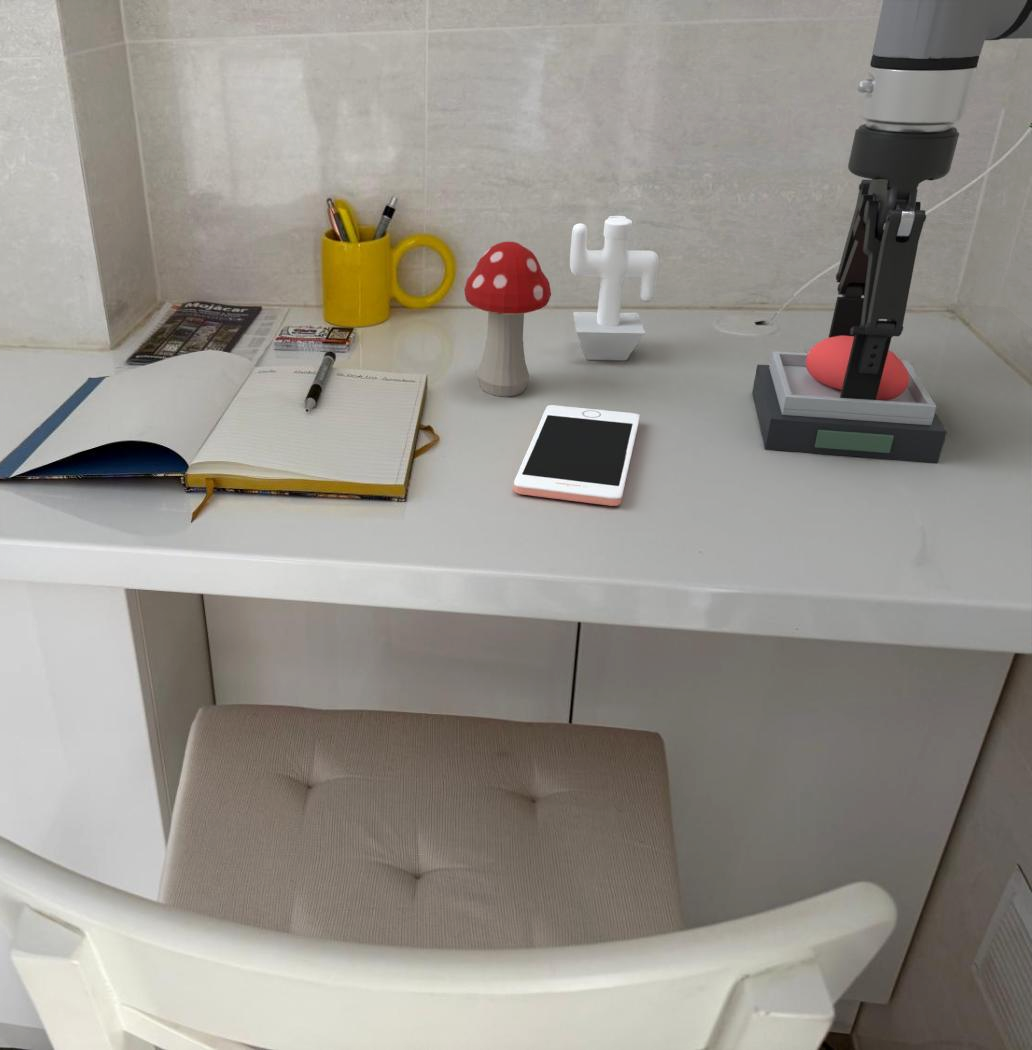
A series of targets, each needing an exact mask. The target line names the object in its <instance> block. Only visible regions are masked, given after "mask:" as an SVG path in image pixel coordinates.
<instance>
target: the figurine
mask: <svg viewBox="0 0 1032 1050" xmlns="http://www.w3.org/2000/svg"><path fill="white" fill-rule="evenodd" d="M603 224H604V225H603V237H604V242H603V247H602V248H601V249H595V250H594V249H593V250H592V249H588V246H587V245H588V243H587V241H588V227H587V225H586V224H585V223H576V224H574V225H573V227H572V229H571V239H570V250H569V252H570V253H569V269H570V271H571V273H572V275H574V276H576V277H598V278H600V281H599V293H598V301H597V311H572V315H573V321H574V325H575V333H576V335H577V337H578V341H579V344H580V346H581V349H582V352H583V355H584V358H585V360H586V361H627V360H628V359H629V358H630V355H631V354H632V353H633V351H634V350H635V348H636V347H637V345H638V344H639V343H640V341H641V340H642V339H643V338H644V335H645V334H646V332H645V328H644V327H643V324H642V321H641V318H640V315H639V313H638V312H621V309H622V301H623V300H622V299H623V291H624V284H625V283H624V282H625V278H627V277H629V278H630V277H631V278H640V288H639V298H640V300H641V301H643V302H649V303H650V302H652V301H654V299H655V297H656V294H657V293H656V292H657V284H658V279H659V268H660V266H659V265H660V260H659V259H660V258H659V256H658V255H659V254H657V252H655V251H653V250H642V249H641V250H640V249H639V250H633V249H631V250H630V249H628V246H629V239H630V237H631V236H632V228H633V220H632V219H630V218H627V216H624V215H609V216H608V217H607V218H606V219H605V220H604V223H603Z"/></svg>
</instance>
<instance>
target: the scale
mask: <svg viewBox="0 0 1032 1050" xmlns="http://www.w3.org/2000/svg"><path fill="white" fill-rule="evenodd" d="M808 353H809V352H792V351H789V352H788V351H774V350H773V351H772V352H771V356H770V362H769V364H756V369H755V375H754V380H753V385H752V391H751V392H752V397H753V402H754V405H755V406H754V407H755V410H756V415H757V419H758V424H759V428H760V433H761V437H762V442H763V446H764V450H772V451H782V452H795V453H796V452H797V453H798V452H799V453H806V454H807V453H809V454H818V455H819V454H822V455H833V456H843V457H844V456H846V457H858V458H871V459H883V460H896V461H906V462H907V461H910V462H919V463H920V462H922V463H933V464H938V463H939V460H940V456H941V453H942V449H943V447H944V444H945V440H946V436H947V433H948V431H947V429H946V428H945V426H944V424H943V423H942V421H941V419H940V418H939V416H938V415H937V412H936V410H937V405H936V403H935V401H934V400H933V398H932V397H931V395H930V394H929V392H928V390H927V389H926V387H925V385H924V383H923V382H922V381H921V379H920V377H919V376H918V374H917V373H916V371H915V369H914V367H913V366H912V364H911V363H910V361H909V360H908V358H900V357H898V358H899V359H900V360H901V361H902V363H903V364H904V366H905V367H906V369H907V371H908V374H909V384H908V387H907V388H906V390H905V391H904V392H903V393H902V394H901V395H900V396H898V397H896V398H894V399H890V400H865V399H849V398H840V395H841V391H842V390H840V389H837V388H833V387H830V386H827V385H825V384H822V383H820V382H819V381H817V380H815V379H814V378H813V377H812V376H811V375H810V374H809V372H808V371H807V368H806V358H807V355H808Z"/></svg>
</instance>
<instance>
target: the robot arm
mask: <svg viewBox="0 0 1032 1050" xmlns="http://www.w3.org/2000/svg"><path fill="white" fill-rule="evenodd" d="M1017 39H1020V40H1022V39H1023V40H1025V39H1032V0H882V4H881V8H880V13H879V19H878V23H877V28H876V33H875V39H874V43H873V48H872V53H871V54H872V56H871V59H870V64H869V69H868V79H867V78H866V79H862V80H859V82H858V83H857V88H856V90H857V92H859V93H862V94H863V93H864V94H863V97H862V101H861V107H860V110H859V117H861V119H862V120H863V121H865V123H863V124H861V125H860V126H858V128H857V129H855V131H854V135H853V136H854V137H853V141H852V145H851V150H850V154H849V158H848V159H849V160H848V164H847V167H848V170H849V172H850V173H851V174H852V175H854V176H857V177H859V178H860V177H861V178H863V179H862V180H861V181H860V183H859V184H858V194H857V199H856V204H855V208H854V211H853V215H852V219H851V223H850V226H849V230H848V233H847V237H846V241H845V244H844V248H843V252H842V256H841V258H840V262H839V266H838V270H837V273H836V274H835V280H836V283H838V285H837V289H836V290H837V294H838V295H839V296H837V297H836V301H835V306H834V310H833V315H832V319H831V324H830V328H829V332H828V337H827V338H830V337H835V336H854V340H853V344H852V348H851V352H850V357H849V361H848V365H847V369H846V374H845V378H844V382H843V387H842V391H841V395H840V398H849V399H865V400H876V397H877V393H878V389H879V385H880V381H881V377H882V374H883V370H884V366H885V362H886V358H887V354H888V350H890V345H891V342H892V338H893V337H901V335H902V333H903V331H904V321H905V317H906V316H905V315H906V311H907V305H908V300H909V295H910V290H911V284H912V278H913V274H914V273H913V272H914V269H915V268H914V267H915V262H916V257H917V251H918V246H919V242H920V238H921V234H922V230H923V226H924V224H925V222H926V219H927V215H926V210H924V209H921V208H922V207H921V201H917V197H918V190H919V189H918V187H919V185H920V184H921V183H922V182H924V181H935V180H939V179H942V178H944V177H945V176H947V175H948V174H949V172H950V171H951V167H952V164H953V160H954V156H955V152H956V150H957V149H956V148H957V145H958V141H959V138H960V132H959V131H958V128H956V127H955V126H954V125H955V124H958V123H960V122H961V121H962V120H964V119H966V118H965V117H966V113H967V111H968V107H969V106H968V105H969V102H970V98H971V94H972V90H973V86H974V82H975V78H976V75H977V71H978V63H979V60H980V56H981V53H982V51H983V47H984V43H985V41H1000V40H1017Z"/></svg>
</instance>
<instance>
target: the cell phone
mask: <svg viewBox="0 0 1032 1050" xmlns="http://www.w3.org/2000/svg"><path fill="white" fill-rule="evenodd" d="M640 419H641V415H640V414H639V413H635V412H628V411H627V412H626V411H618V410H617V411H616V410H606V409H605V410H604V409H596V408H587V407H583V408H582V407H576V406H565V405H557V404H556V405H554V404H550V405H547V406H546V408H545V409H544V412H543V414H542V417H541V418H540V421H539V423H538V426H537V427H536V430H535V432H534V434H533V436H532V439H531V442H530V444H529V446H528V448H527V451H526V453H525V455H524V457H523V460H522V462H521V463H520V467H519V469H518V471H517V474H516V476H515V478H514V481H513V486H512V487H513V488H512V489H513V492H514V493H515V494H518V495H524V496H532V497H539V498H548V499H555V500H562V501H572V502H578V503H585V504H586V503H587V504H594V505H603V506H608V507H609V506H610V507H617V506H619V505H621V503H622V501H623V495H624V491H625V487H626V484H627V483H626V482H627V478H628V474H629V470H630V466H631V461H632V456H633V452H634V448H635V444H636V438H637V433H638V429H639V424H640Z"/></svg>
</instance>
